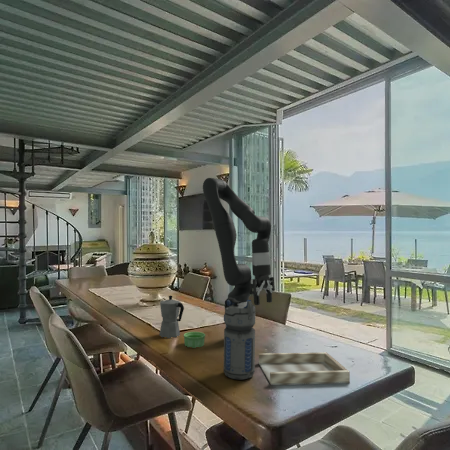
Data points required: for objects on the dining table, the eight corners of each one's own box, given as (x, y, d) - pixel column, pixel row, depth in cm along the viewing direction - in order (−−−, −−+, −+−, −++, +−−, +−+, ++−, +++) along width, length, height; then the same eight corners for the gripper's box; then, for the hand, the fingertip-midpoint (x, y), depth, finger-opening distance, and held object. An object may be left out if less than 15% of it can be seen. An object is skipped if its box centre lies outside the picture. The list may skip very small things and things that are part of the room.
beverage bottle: (236, 364, 122) (238, 293, 123) (262, 377, 112) (263, 299, 113) (213, 371, 116) (214, 296, 117) (237, 384, 106) (239, 302, 107)
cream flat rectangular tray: (270, 385, 106) (271, 373, 106) (258, 363, 124) (258, 353, 124) (349, 383, 109) (349, 371, 109) (326, 361, 127) (326, 352, 127)
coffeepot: (152, 334, 158) (153, 294, 159) (168, 330, 165) (169, 292, 166) (174, 341, 148) (175, 299, 149) (190, 337, 155) (191, 296, 156)
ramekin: (188, 341, 150) (188, 330, 150) (208, 343, 147) (208, 332, 147) (179, 347, 141) (180, 336, 141) (200, 349, 139) (200, 338, 139)
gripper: (264, 263, 152) (266, 301, 150) (243, 264, 141) (245, 305, 140) (278, 263, 147) (280, 302, 145) (258, 264, 136) (260, 306, 135)
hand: (263, 303), depth 142 cm, fingers open, 8 cm apart
